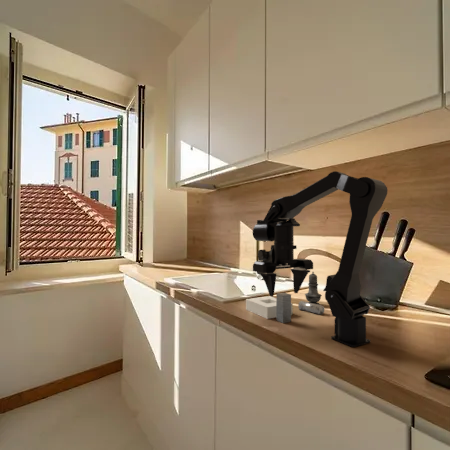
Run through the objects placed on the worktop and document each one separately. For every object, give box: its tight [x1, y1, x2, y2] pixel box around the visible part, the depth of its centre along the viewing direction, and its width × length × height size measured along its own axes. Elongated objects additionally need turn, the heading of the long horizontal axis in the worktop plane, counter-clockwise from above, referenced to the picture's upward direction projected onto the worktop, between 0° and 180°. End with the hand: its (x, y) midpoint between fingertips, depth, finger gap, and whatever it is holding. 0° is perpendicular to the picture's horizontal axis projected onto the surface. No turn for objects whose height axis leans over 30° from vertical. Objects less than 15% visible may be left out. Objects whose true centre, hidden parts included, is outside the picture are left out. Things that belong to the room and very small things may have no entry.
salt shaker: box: [304, 271, 322, 305], centre depth 107 cm, size 6×6×12 cm
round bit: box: [298, 300, 325, 316], centre depth 97 cm, size 8×3×3 cm, turn 39°
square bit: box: [275, 292, 292, 324], centre depth 87 cm, size 3×3×8 cm
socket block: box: [245, 295, 294, 320], centre depth 97 cm, size 12×10×4 cm
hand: (283, 294), depth 87 cm, fingers open, 9 cm apart
